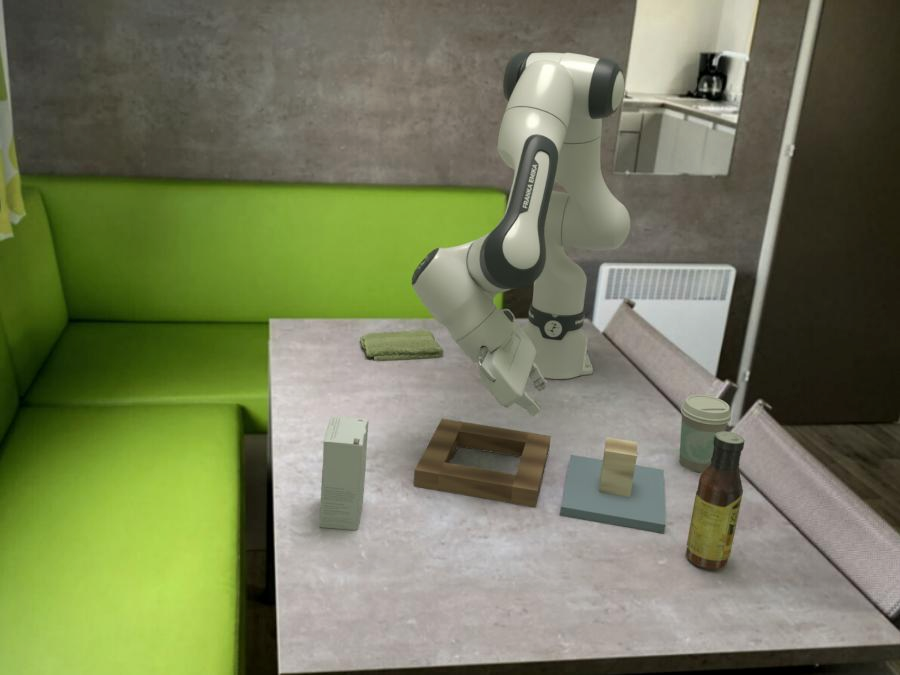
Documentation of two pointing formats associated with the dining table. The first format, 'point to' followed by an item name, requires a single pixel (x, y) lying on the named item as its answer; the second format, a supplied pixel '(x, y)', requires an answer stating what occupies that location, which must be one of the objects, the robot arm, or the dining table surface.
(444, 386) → the dining table surface
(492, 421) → the dining table surface
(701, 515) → the sauce bottle
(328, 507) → the skincare box
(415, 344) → the washcloth
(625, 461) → the maple peg
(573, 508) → the slate pad
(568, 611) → the dining table surface
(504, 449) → the pocket block
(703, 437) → the coffee cup
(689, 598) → the dining table surface
